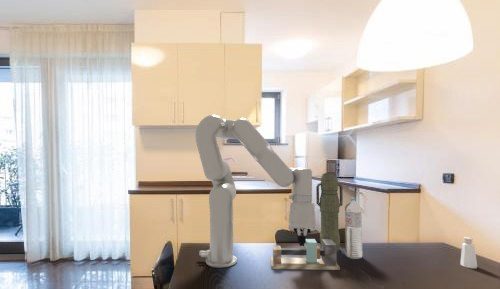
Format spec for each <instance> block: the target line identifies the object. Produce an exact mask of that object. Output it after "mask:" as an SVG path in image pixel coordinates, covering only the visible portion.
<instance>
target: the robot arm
mask: <svg viewBox="0 0 500 289" xmlns="http://www.w3.org/2000/svg"><path fill="white" fill-rule="evenodd" d="M217 138H224V139H232V140H237V141H239V143H240V144H241V145H242V146H243V147H244V149H245V150H247V151H248V154H250V156H252V157H253V159H254V160H255V162H257V163H258V164H259V166H261V167H262V168H263V170H264V171H265V173H267V174H268V176H269V178H271V179H272V181H273V182H274V183H276V185H277V186H279V187H281V188H288V187H289V186H291V185H292V193H291V195H288V199H289V200H290V204H289V212H288V227H287V229H288V230H289V231H293V232H294V233H296V234H297V244H299V246H300V247H302V246H303V247H305V243H306V239H307V238H306V236H308V234H309V233H310V232H314V231H316V209H315V203H314V202H313V196H312V195H313V192H312V191H313V190H312V189H313V171H312V169H311V168H309V167H288V165H286V163H285V162H284V161H283V160H282V159H281V157H280V156H279V155H278V154H277V152H275V150H274V148H273V147H272V146H271V145H270V143H269V142H268V140H266V139H265V137H264V136H262V134H261V133H260V132H259V131H258V130H257V128H256V127H255V126H254V125H253V124H252V123H251V122H250V121H249V120H248V119H246V118H244V117H241V118H238V119H228V118H222V117H221V116H219V115H216V114H209V115H206V116H204V118H203V119H201V120H200V121H199V123H198V125H197V126H196V129H195V143H196V148H197V151H198V154H199V155H198V156H199V159H200V162H201V165H202V169H203V173H204V176H205V178H206V179H207V181H208V180H209V181H211V184H212V188H211V189H210V192H209V196H208V205H209V207H208V208H209V249H207V250H199V251H198V252H199V253H198V254H199V256H200V258H206V259H205V263H206V265H208V266H209V267H212V268H220V269H221V268H228V267H232V266H234V265H235V264H236V263H237V262H238V258H237V256H236V255H234V204H233V203H234V199H235V198H236V196H237V189H236V184H235V181H234V178H233V177H234V176H233V175H232V174H233V173H232V171H231V168H230V165H229V164H228V162H227V161H226V160H225V159H223V158H222V155H221V151H220V147H219V144H218V141H217ZM301 229H302V232H301Z"/></svg>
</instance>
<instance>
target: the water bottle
mask: <svg viewBox="0 0 500 289" xmlns="http://www.w3.org/2000/svg"><path fill="white" fill-rule="evenodd" d="M362 208H363V207H362V206H361V205H360V204H359V203H358V202H357V201H356V198H355V197H351V198H350V201H349V202H348V203H346V205H345V207H344V211H345V212H344V213H345V214H344V215H345V218H344V219H345V221H344V222H345V223H344V224H345V225H344V226H345V227H344V231H345V232H344V233H345V234H344V241H345V242H344V244H345V245H344V246H345V248H344V249H345V252H344V253H345V256H346V258H348V259H352V260H359V259H362V257H363V224H362V217H363V216H362V212H363V209H362Z"/></svg>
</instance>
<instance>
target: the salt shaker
mask: <svg viewBox="0 0 500 289" xmlns="http://www.w3.org/2000/svg"><path fill="white" fill-rule="evenodd" d="M476 254H477V253H476V249H475V245H474V244H473V238H472V237H469V236H463V243H462V244H461V252H460V264H459V265H460V266H462V267H464V268H468V269H477V268H478V263H477V262H478V261H477V255H476Z"/></svg>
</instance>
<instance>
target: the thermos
mask: <svg viewBox="0 0 500 289" xmlns="http://www.w3.org/2000/svg"><path fill="white" fill-rule="evenodd" d="M338 181H339V180H338V177H337V174H336V173H334V172H325V173H322V175H321V178H320V183H318V184H317V185H315V186H316V187H315V189H316V190H315V192H316V193H315V194H316V195H315V196H316V205H317V206H318V207H319V212H320V232H319V244H320V246H319V248H320V249H322V239H332V241H333V242H334V243H335V244H336V253H338V252H340V245H341V237H340V236H341V235H340V233H339V232H340V231H339V212H340V207H343V205H344V203H343V202H344V200H343V199H344V198H343V194H344V193H343V185H342V184H341V183H339V182H338ZM320 190H321V191H320ZM338 190H339V193H338Z"/></svg>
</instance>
